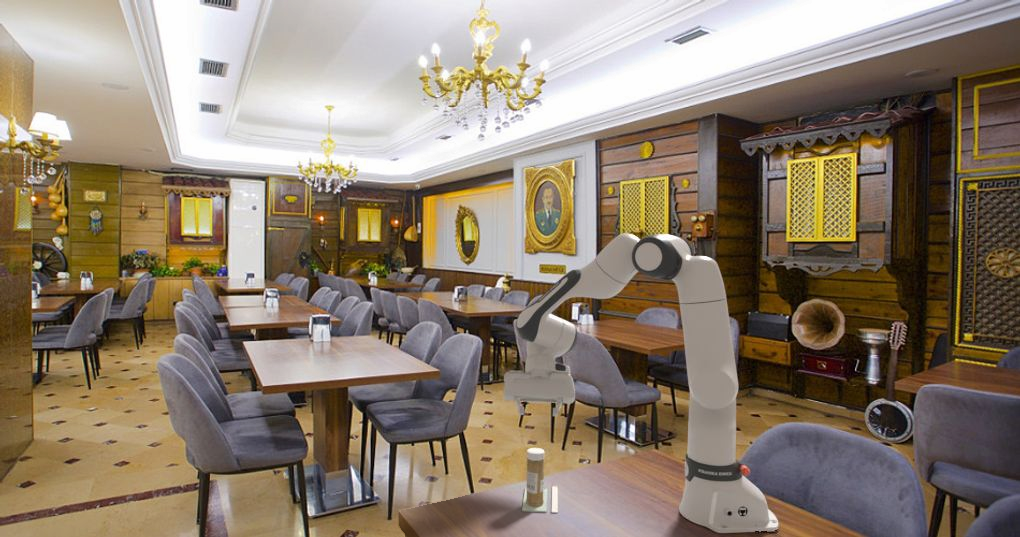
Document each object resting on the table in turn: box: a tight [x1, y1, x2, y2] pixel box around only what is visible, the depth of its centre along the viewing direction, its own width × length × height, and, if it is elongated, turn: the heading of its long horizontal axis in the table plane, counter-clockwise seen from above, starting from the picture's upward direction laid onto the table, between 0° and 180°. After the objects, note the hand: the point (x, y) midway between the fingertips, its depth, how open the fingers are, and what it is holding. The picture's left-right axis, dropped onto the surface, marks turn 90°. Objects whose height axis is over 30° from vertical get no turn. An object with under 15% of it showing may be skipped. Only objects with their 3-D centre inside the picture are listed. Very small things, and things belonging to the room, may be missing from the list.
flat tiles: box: [521, 485, 559, 514], centre depth 143 cm, size 9×15×1 cm, turn 175°
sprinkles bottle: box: [525, 447, 546, 506], centre depth 140 cm, size 5×5×13 cm
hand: (538, 414), depth 152 cm, fingers open, 8 cm apart
